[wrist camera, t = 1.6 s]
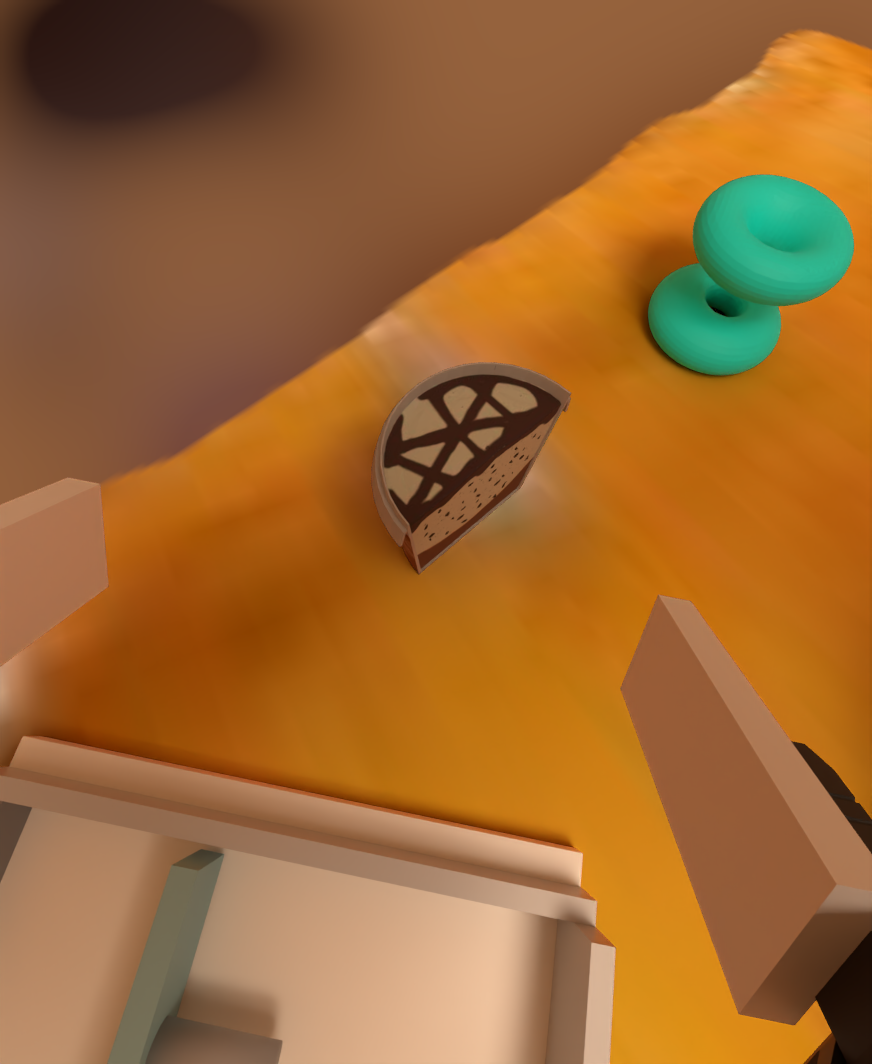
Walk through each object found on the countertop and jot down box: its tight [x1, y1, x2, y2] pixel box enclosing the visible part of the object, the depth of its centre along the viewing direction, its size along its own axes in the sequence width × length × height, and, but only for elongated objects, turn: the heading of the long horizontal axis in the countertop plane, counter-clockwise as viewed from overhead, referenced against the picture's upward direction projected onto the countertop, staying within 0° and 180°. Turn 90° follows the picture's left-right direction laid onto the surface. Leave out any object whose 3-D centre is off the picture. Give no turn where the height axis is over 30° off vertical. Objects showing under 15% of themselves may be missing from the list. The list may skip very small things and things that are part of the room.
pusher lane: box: [0, 736, 616, 1064], centre depth 22 cm, size 30×20×6 cm, turn 79°
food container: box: [371, 362, 571, 574], centre depth 31 cm, size 12×6×10 cm, turn 132°
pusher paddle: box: [107, 849, 283, 1064], centre depth 22 cm, size 6×14×4 cm, turn 169°
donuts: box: [648, 175, 854, 375], centre depth 38 cm, size 10×10×10 cm
